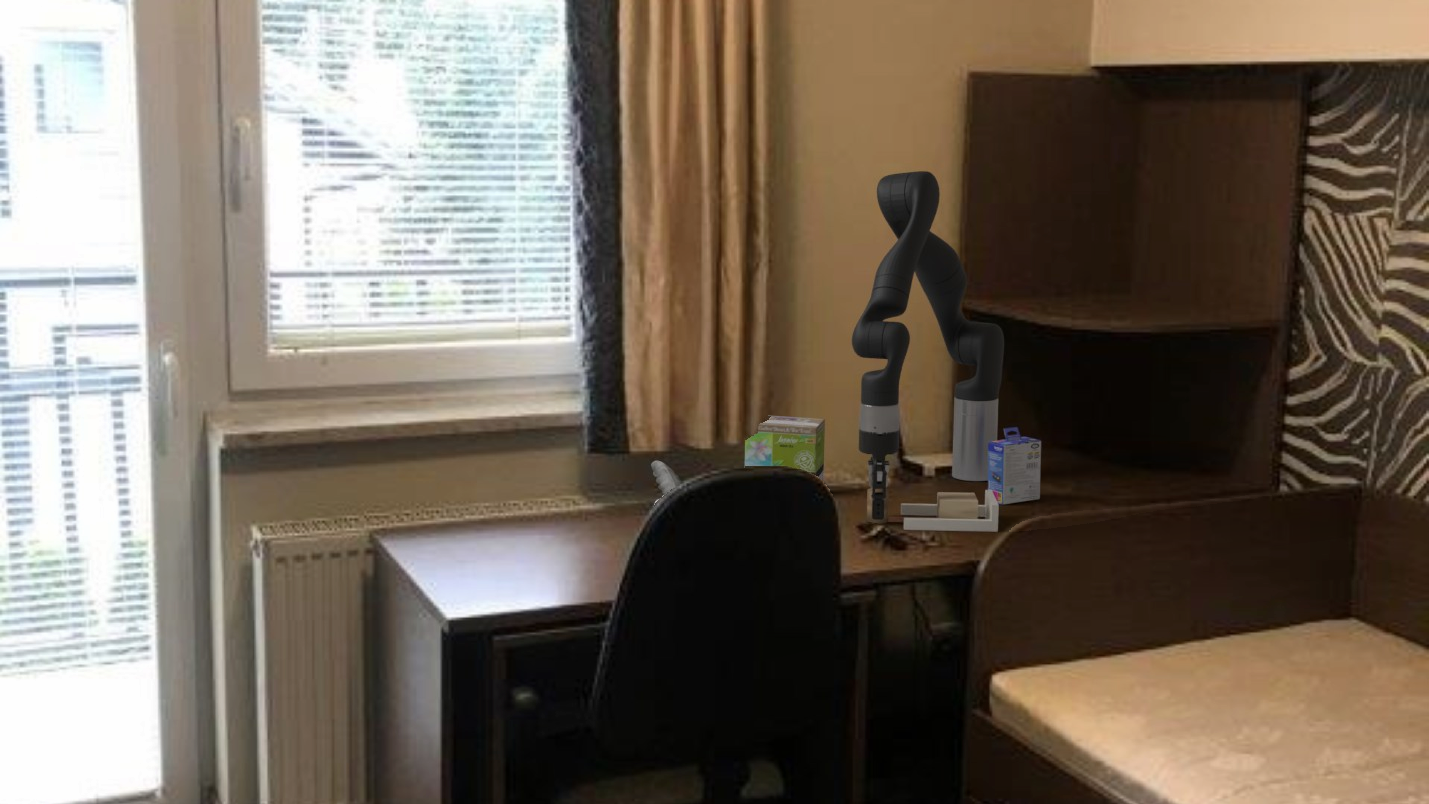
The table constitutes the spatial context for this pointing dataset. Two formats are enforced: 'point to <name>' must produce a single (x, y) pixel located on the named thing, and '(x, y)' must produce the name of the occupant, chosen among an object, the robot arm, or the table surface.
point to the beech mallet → (947, 507)
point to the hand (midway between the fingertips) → (877, 515)
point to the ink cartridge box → (1014, 468)
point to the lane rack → (952, 524)
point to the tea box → (788, 444)
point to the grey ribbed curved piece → (665, 477)
